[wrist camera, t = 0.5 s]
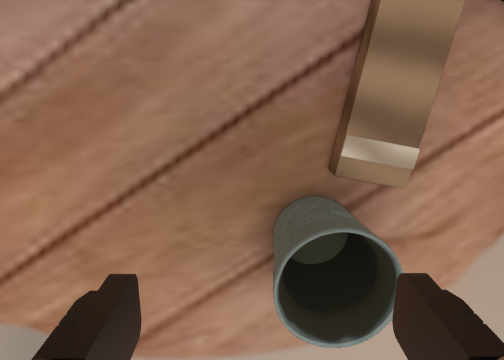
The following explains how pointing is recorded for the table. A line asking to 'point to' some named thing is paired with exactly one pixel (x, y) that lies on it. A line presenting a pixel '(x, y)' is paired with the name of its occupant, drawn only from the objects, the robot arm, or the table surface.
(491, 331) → the robot arm
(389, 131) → the plank
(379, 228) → the table surface
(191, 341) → the table surface
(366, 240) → the grey-green cup
